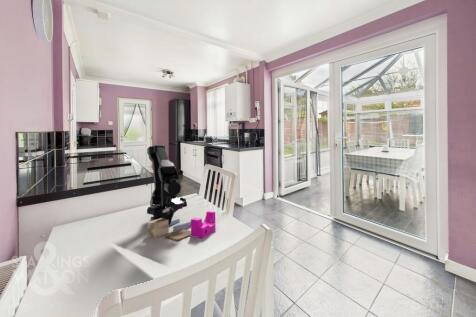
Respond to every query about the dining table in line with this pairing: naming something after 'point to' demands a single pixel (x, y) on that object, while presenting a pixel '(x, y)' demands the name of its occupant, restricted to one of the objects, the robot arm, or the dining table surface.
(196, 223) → the toy block
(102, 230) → the dining table surface
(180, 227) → the channel
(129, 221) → the dining table surface
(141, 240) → the dining table surface
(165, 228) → the block
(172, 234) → the board
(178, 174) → the robot arm
